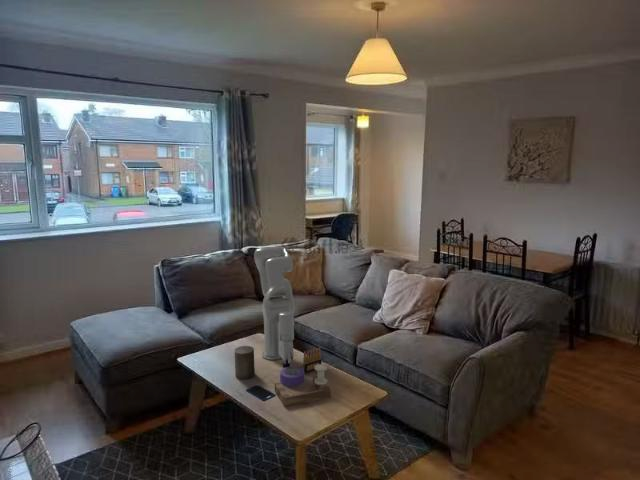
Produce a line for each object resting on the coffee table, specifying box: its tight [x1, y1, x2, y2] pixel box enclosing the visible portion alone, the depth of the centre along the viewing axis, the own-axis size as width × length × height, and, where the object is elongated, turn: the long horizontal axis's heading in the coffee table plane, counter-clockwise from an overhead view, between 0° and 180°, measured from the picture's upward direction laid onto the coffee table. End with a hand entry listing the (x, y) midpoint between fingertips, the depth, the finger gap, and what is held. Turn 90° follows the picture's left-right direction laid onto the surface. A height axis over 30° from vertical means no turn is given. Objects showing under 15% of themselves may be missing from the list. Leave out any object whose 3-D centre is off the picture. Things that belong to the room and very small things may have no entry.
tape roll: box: [279, 365, 305, 388], centre depth 226 cm, size 12×12×5 cm
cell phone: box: [245, 384, 277, 402], centre depth 215 cm, size 7×14×1 cm, turn 46°
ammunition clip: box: [302, 346, 322, 375], centre depth 236 cm, size 11×2×12 cm, turn 125°
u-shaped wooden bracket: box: [274, 375, 331, 408], centre depth 213 cm, size 14×22×4 cm, turn 112°
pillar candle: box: [233, 345, 256, 380], centre depth 231 cm, size 10×10×15 cm
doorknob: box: [314, 363, 328, 385], centre depth 216 cm, size 6×6×8 cm
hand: (286, 370), depth 233 cm, fingers closed
